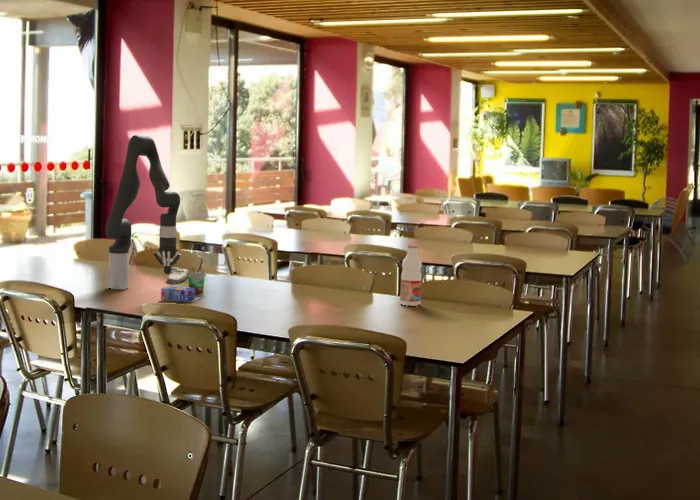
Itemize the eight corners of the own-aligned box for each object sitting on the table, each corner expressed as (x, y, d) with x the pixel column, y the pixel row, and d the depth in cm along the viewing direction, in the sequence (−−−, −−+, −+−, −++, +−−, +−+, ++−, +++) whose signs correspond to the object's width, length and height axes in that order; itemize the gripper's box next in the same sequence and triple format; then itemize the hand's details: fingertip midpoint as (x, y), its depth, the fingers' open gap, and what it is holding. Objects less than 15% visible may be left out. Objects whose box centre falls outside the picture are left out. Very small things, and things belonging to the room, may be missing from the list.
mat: (165, 300, 404) (165, 300, 404) (176, 296, 417) (176, 295, 417) (193, 302, 402) (193, 301, 402) (203, 297, 414) (203, 297, 414)
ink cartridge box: (172, 284, 413) (200, 288, 409) (171, 296, 414) (199, 300, 409) (160, 287, 404) (189, 291, 399) (160, 299, 404) (189, 303, 400)
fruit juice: (402, 302, 423) (405, 243, 420) (422, 304, 420) (425, 244, 417) (397, 305, 414) (400, 245, 411) (417, 307, 411) (420, 246, 408)
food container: (200, 295, 421) (200, 274, 420) (187, 294, 422) (188, 273, 421) (209, 291, 433) (209, 270, 432) (197, 290, 434) (197, 269, 433)
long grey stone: (162, 286, 451) (182, 288, 451) (162, 276, 450) (183, 278, 451) (173, 272, 485) (191, 274, 486) (173, 263, 484) (192, 264, 485)
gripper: (150, 236, 403) (150, 274, 405) (179, 237, 401) (178, 276, 403) (157, 234, 411) (156, 272, 413) (184, 236, 409) (184, 273, 411)
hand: (167, 274), depth 408 cm, fingers closed
